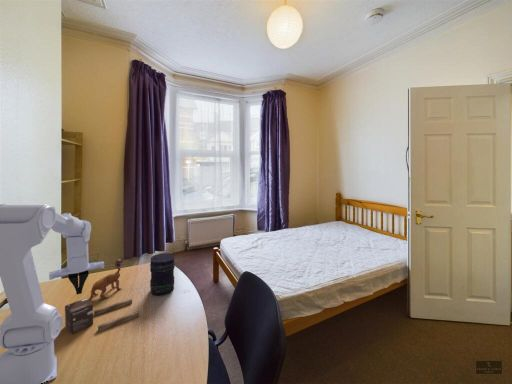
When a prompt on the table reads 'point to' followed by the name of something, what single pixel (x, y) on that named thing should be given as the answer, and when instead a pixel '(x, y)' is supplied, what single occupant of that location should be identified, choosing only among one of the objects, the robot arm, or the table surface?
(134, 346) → the table surface
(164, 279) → the storage jar
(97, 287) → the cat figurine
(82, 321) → the box
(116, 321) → the shelf lane
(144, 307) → the table surface
